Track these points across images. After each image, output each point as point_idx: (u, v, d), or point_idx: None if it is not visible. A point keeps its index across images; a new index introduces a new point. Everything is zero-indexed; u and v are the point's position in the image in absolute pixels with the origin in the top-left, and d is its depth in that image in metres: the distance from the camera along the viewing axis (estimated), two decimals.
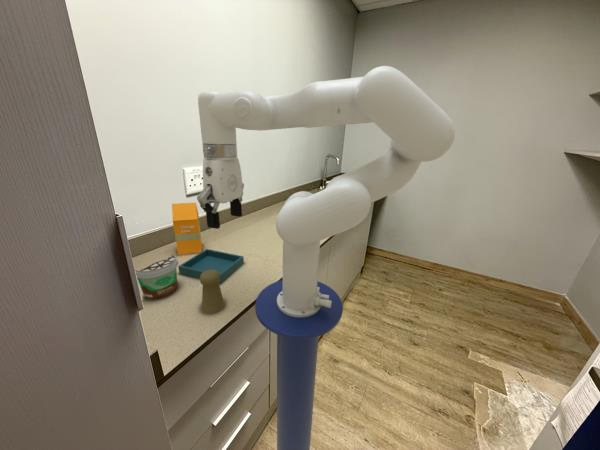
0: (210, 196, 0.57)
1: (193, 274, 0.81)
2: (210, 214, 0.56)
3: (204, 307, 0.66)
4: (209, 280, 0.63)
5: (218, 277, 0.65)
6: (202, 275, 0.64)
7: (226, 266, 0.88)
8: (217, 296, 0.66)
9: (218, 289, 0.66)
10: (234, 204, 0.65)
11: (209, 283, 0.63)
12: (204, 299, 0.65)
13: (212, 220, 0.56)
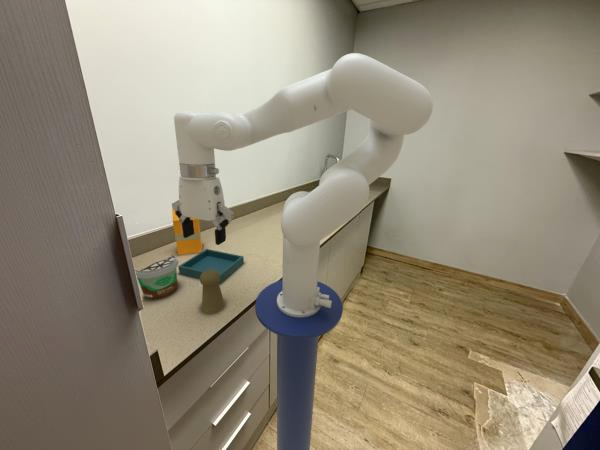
0: None
1: (193, 274, 0.81)
2: (224, 229, 0.59)
3: (204, 307, 0.66)
4: (209, 280, 0.63)
5: (218, 277, 0.65)
6: (202, 275, 0.64)
7: (226, 266, 0.88)
8: (217, 296, 0.66)
9: (218, 289, 0.66)
10: (188, 224, 0.61)
11: (209, 283, 0.63)
12: (204, 299, 0.65)
13: (224, 234, 0.60)
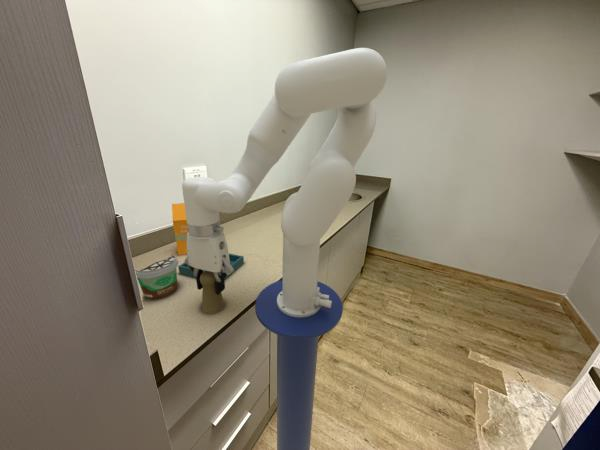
0: None
1: None
2: (223, 280, 0.64)
3: (204, 307, 0.66)
4: (209, 280, 0.63)
5: None
6: (202, 275, 0.64)
7: None
8: (217, 296, 0.66)
9: None
10: None
11: (209, 283, 0.63)
12: (204, 299, 0.65)
13: (224, 284, 0.65)
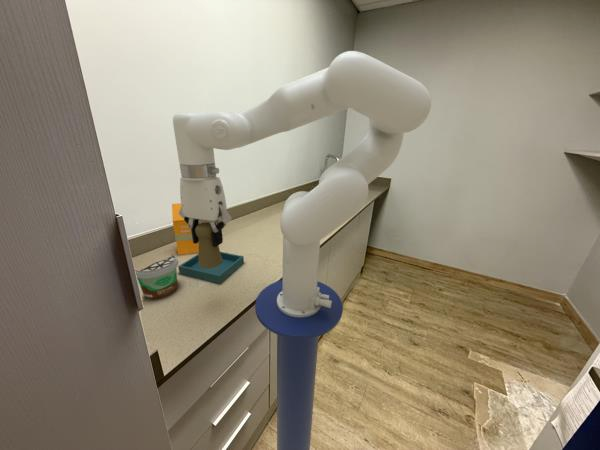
0: None
1: (193, 274, 0.81)
2: (220, 231, 0.60)
3: (201, 262, 0.61)
4: (205, 231, 0.58)
5: None
6: (198, 226, 0.59)
7: (226, 266, 0.88)
8: (215, 249, 0.61)
9: None
10: None
11: (205, 234, 0.59)
12: (200, 253, 0.61)
13: (221, 236, 0.61)
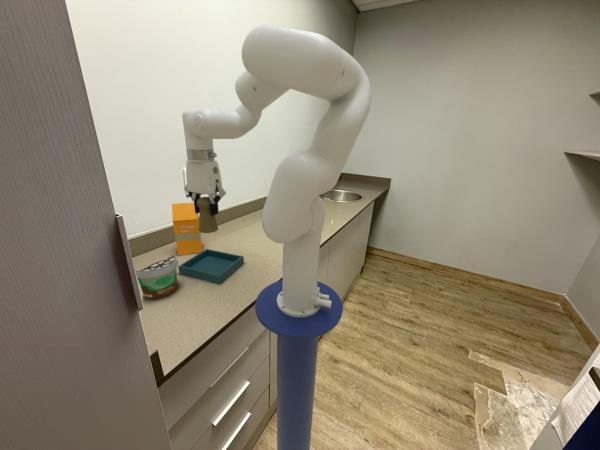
0: None
1: (193, 274, 0.81)
2: (216, 203, 0.77)
3: (201, 228, 0.78)
4: (205, 202, 0.75)
5: None
6: (199, 198, 0.76)
7: (226, 266, 0.88)
8: (212, 218, 0.78)
9: None
10: None
11: (205, 205, 0.75)
12: (201, 220, 0.77)
13: (217, 208, 0.77)
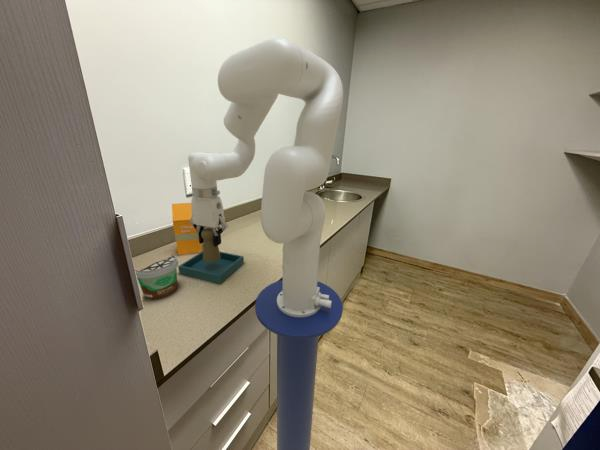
0: None
1: (193, 274, 0.81)
2: (219, 235, 0.82)
3: (204, 257, 0.83)
4: (208, 234, 0.80)
5: None
6: (203, 231, 0.81)
7: (226, 266, 0.88)
8: (215, 248, 0.83)
9: None
10: None
11: (208, 237, 0.81)
12: (204, 250, 0.83)
13: (220, 239, 0.83)
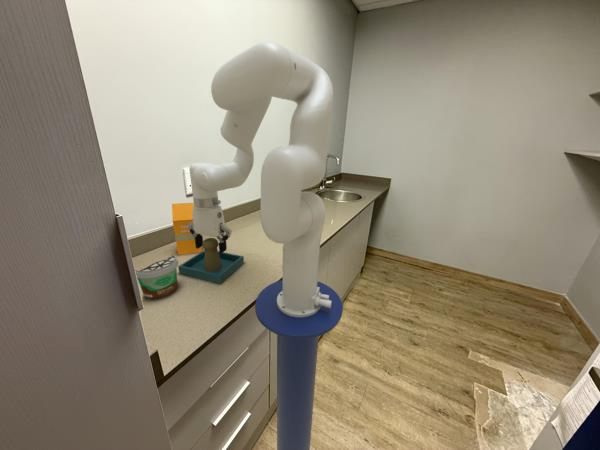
0: None
1: (193, 274, 0.81)
2: (225, 242, 0.82)
3: (206, 267, 0.85)
4: (210, 245, 0.82)
5: (217, 243, 0.83)
6: (205, 241, 0.82)
7: (226, 266, 0.88)
8: (216, 258, 0.85)
9: (217, 253, 0.85)
10: (199, 238, 0.85)
11: (210, 247, 0.82)
12: (206, 260, 0.84)
13: (225, 245, 0.83)
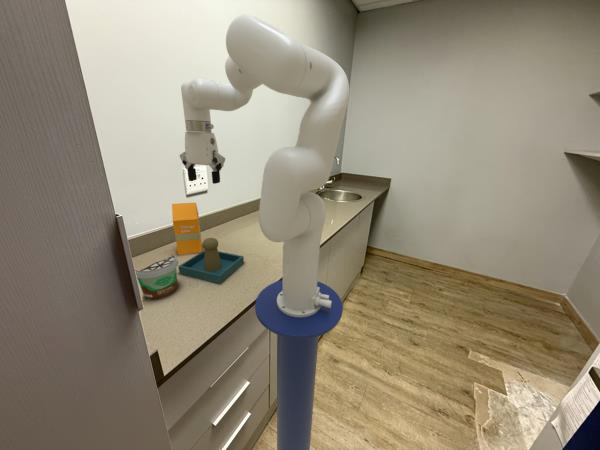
0: None
1: (193, 274, 0.81)
2: (218, 172, 0.80)
3: (206, 267, 0.85)
4: (210, 245, 0.82)
5: (217, 243, 0.83)
6: (205, 241, 0.82)
7: (226, 266, 0.88)
8: (216, 258, 0.85)
9: (217, 253, 0.85)
10: (192, 170, 0.83)
11: (210, 247, 0.82)
12: (206, 260, 0.84)
13: (219, 176, 0.81)
